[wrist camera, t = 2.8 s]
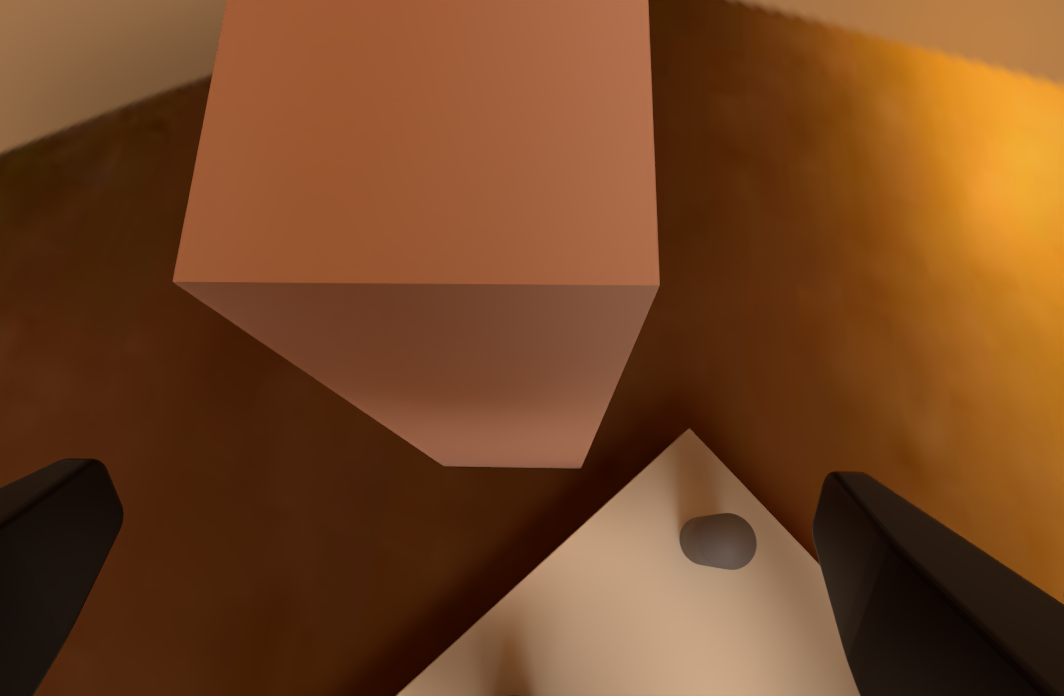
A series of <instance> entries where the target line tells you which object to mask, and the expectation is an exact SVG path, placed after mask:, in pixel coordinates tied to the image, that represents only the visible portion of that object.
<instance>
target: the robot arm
mask: <svg viewBox="0 0 1064 696" xmlns="http://www.w3.org/2000/svg"><path fill="white" fill-rule="evenodd" d="M122 522H123V507H122V504H121V502H120V499H119V497H118V495H117V492H116V490H115V487H114V485H113V483H112V480H111V478H110V475H109V473H108V470H107V468H106V467H105V465H104V464H103V463H102V462H100V461H99V460H96V459H75V458H70V459H63V460H60V461H57V462H55V463H53V464H51V465H49V466H46V467H44V468H42V469H40V470H38V471H36V472H34V473H31V474H29V475H27V476H25V477H23V478H21V479H19V480H17V481H14V482H12V483H10V484H8V485H6V486H4V487H2V488H0V696H33V695H34V694H35V692H36V690H37V689H38V687H39V685H40V684H41V682H42V680H43V679H44V677H45V675H46V674H47V672H48V670H49V669H50V667H51V665H52V664H53V662H54V660H55V659H56V657H57V655H58V653H59V652H60V650H61V648H62V646H63V645H64V643H65V641H66V639H67V637H68V635H69V633H70V631H71V630H72V628H73V626H74V624H75V622H76V620H77V618H78V616H79V614H80V611H81V609H82V607H83V605H84V603H85V601H86V599H87V597H88V595H89V593H90V591H91V589H92V587H93V585H94V582H95V580H96V578H97V576H98V574H99V572H100V570H101V568H102V566H103V564H104V562H105V560H106V558H107V556H108V553H109V551H110V549H111V547H112V545H113V543H114V541H115V539H116V537H117V535H118V533H119V531H120V528H121V526H122ZM812 534H813V541H814V545H815V548H816V552H817V556H818V559H819V563H820V567H821V570H822V574H823V578H824V581H825V585H826V589H827V592H828V596H829V600H830V603H831V607H832V610H833V614H834V618H835V621H836V625H837V629H838V632H839V636H840V640H841V643H842V646H843V650H844V653H845V656H846V660H847V662H848V665H849V668H850V671H851V673H852V676H853V679H854V682H855V684H856V687H857V689H858V692H859V694H860V696H1064V604H1062V603H1061V602H1059V601H1058V600H1056V599H1055V598H1053V597H1052V596H1050V595H1049V594H1047V593H1046V592H1044V591H1043V590H1041V589H1040V588H1038V587H1037V586H1035V585H1034V584H1032V583H1031V582H1029V581H1028V580H1026V579H1025V578H1023V577H1022V576H1020V575H1019V574H1017V573H1016V572H1014V571H1013V570H1011V569H1010V568H1008V567H1007V566H1005V565H1004V564H1002V563H1001V562H999V561H998V560H996V559H995V558H993V557H992V556H990V555H989V554H987V553H986V552H984V551H983V550H981V549H980V548H978V547H977V546H975V545H974V544H972V543H971V542H969V541H968V540H966V539H965V538H963V537H962V536H960V535H959V534H957V533H956V532H954V531H953V530H951V529H950V528H948V527H947V526H945V525H944V524H942V523H941V522H939V521H938V520H936V519H935V518H933V517H932V516H930V515H929V514H927V513H926V512H924V511H923V510H921V509H920V508H918V507H917V506H915V505H914V504H912V503H911V502H909V501H908V500H906V499H905V498H903V497H902V496H900V495H899V494H897V493H896V492H894V491H893V490H891V489H890V488H888V487H887V486H885V485H884V484H882V483H881V482H879V481H878V480H876V479H875V478H873V477H872V476H870V475H868V474H866V473H864V472H845V471H834V472H831V473H829V474H828V475H827V476H826V478H825V480H824V483H823V486H822V490H821V493H820V497H819V501H818V504H817V508H816V512H815V515H814V519H813V525H812Z"/></svg>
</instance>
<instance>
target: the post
mask: <svg viewBox="0 0 1064 696" xmlns="http://www.w3.org/2000/svg"><path fill="white" fill-rule="evenodd" d="M173 283H175V284H176V285H178V286H179V287H181V288H182V289H184V290H185V291H187V292H188V293H190V294H191V295H193V296H194V297H196V298H197V299H198V300H200V301H201V302H203V303H204V304H206V305H207V306H209V307H210V308H212V309H213V310H215V311H216V312H218V313H219V314H221V315H222V316H223V317H225V318H226V319H228V320H229V321H231V322H232V323H234V324H235V325H237V326H238V327H240V328H241V329H243V330H244V331H246V332H247V333H248V334H250V335H251V336H253V337H254V338H256V339H257V340H259V341H260V342H262V343H263V344H265V345H266V346H268V347H269V348H271V349H272V350H274V351H275V352H276V353H278V354H279V355H281V356H282V357H284V358H285V359H287V360H288V361H290V362H291V363H293V364H294V365H296V366H297V367H299V368H300V369H301V370H303V371H304V372H306V373H307V374H309V375H310V376H312V377H313V378H315V379H316V380H318V381H319V382H321V383H322V384H324V385H325V386H326V387H328V388H329V389H331V390H332V391H334V392H335V393H337V394H338V395H340V396H341V397H343V398H344V399H346V400H347V401H349V402H350V403H351V404H353V405H354V406H356V407H357V408H359V409H360V410H362V411H363V412H365V413H366V414H368V415H369V416H371V417H372V418H374V419H375V420H376V421H378V422H379V423H381V424H382V425H384V426H385V427H387V428H388V429H390V430H391V431H393V432H394V433H396V434H397V435H399V436H400V437H401V438H403V439H404V440H406V441H407V442H409V443H410V444H412V445H413V446H415V447H416V448H418V449H419V450H421V451H422V452H424V453H425V454H426V455H428V456H429V457H431V458H432V459H434V460H435V461H437V462H438V463H440V464H441V465H443V466H463V467H523V468H581V467H582V465H583V462H584V460H585V458H586V455H587V453H588V451H589V448H590V446H591V444H592V441H593V439H594V437H595V434H596V432H597V430H598V427H599V425H600V423H601V421H602V418H603V416H604V414H605V411H606V409H607V407H608V404H609V402H610V400H611V397H612V395H613V393H614V390H615V388H616V386H617V383H618V381H619V379H620V376H621V374H622V372H623V369H624V367H625V365H626V363H627V360H628V358H629V356H630V353H631V351H632V349H633V346H634V344H635V342H636V339H637V337H638V335H639V332H640V330H641V328H642V325H643V323H644V321H645V318H646V316H647V314H648V311H649V309H650V307H651V305H652V302H653V300H654V298H655V295H656V293H657V291H658V288H659V286H660V281H659V256H658V231H657V206H656V182H655V157H654V132H653V107H652V82H651V58H650V33H649V8H648V0H227V3H226V8H225V13H224V18H223V23H222V28H221V34H220V39H219V44H218V49H217V55H216V60H215V65H214V70H213V75H212V80H211V85H210V91H209V96H208V101H207V106H206V111H205V116H204V122H203V127H202V132H201V137H200V142H199V148H198V153H197V158H196V163H195V168H194V173H193V179H192V184H191V189H190V194H189V199H188V205H187V210H186V215H185V220H184V225H183V230H182V236H181V241H180V246H179V251H178V256H177V261H176V267H175V272H174V277H173Z"/></svg>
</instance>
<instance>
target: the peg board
mask: <svg viewBox="0 0 1064 696" xmlns="http://www.w3.org/2000/svg"><path fill="white" fill-rule="evenodd" d="M396 696H860V694H859V692H858V689H857V687H856V684H855V682H854V679H853V676H852V673H851V671H850V668H849V665H848V662H847V660H846V656H845V653H844V650H843V646H842V643H841V640H840V636H839V632H838V629H837V625H836V621H835V618H834V614H833V610H832V607H831V603H830V600H829V596H828V592H827V589H826V585H825V581H824V578H823V574H822V570H821V567H820V565H819V564H818V563H817V562H816V561H815V560H814V559H813V557H812V556H811V555H810V554H809V553H808V552H807V551H806V550H805V549H804V548H803V547H802V546H801V545H800V544H799V543H798V542H797V541H796V540H795V539H794V538H793V536H792V535H791V534H790V533H789V532H788V531H787V530H786V529H785V528H784V527H783V526H782V525H781V524H780V523H779V522H778V521H777V520H776V519H775V518H774V516H773V515H772V514H771V513H770V512H769V511H768V510H767V509H766V508H765V507H764V506H763V505H762V504H761V503H760V502H759V501H758V500H757V499H756V498H755V497H754V495H753V494H752V493H751V492H750V491H749V490H748V489H747V488H746V487H745V486H744V485H743V484H742V483H741V482H740V481H739V480H738V479H737V478H736V477H735V475H734V474H733V473H732V472H731V471H730V470H729V469H728V468H727V467H726V466H725V465H724V464H723V463H722V462H721V461H720V460H719V459H718V458H717V457H716V456H715V454H714V453H713V452H712V451H711V450H710V449H709V448H708V447H707V446H706V445H705V444H704V443H703V442H702V441H701V440H700V439H699V438H698V437H697V436H696V434H695V433H694V432H693V431H692V430H691V429H690V428H689V429H688V430H686V431H685V432H684V433H683V434H681V435H680V436H679V437H678V438H677V439H676V440H674V441H673V442H672V443H671V444H670V445H669V446H668V447H667V448H666V449H665V450H664V451H662V452H661V453H660V454H659V455H658V456H657V457H656V458H655V459H654V460H653V461H651V462H650V463H649V464H648V465H647V466H646V467H645V468H644V469H643V470H642V471H641V472H639V473H638V474H637V475H636V476H635V477H634V478H633V479H632V480H631V481H630V482H629V483H627V484H626V485H625V486H624V487H623V488H622V489H621V490H620V491H619V492H618V493H617V494H615V495H614V496H613V497H612V498H611V499H610V500H609V501H608V502H607V503H606V504H604V505H603V506H602V507H601V508H600V509H599V510H598V511H597V512H596V513H595V514H594V515H592V516H591V517H590V518H589V519H588V520H587V521H586V522H585V523H584V524H583V525H582V526H580V527H579V528H578V529H577V530H576V531H575V532H574V533H573V534H572V535H571V536H570V537H568V538H567V539H566V540H565V541H564V542H563V543H562V544H561V545H560V546H559V547H558V548H556V549H555V550H554V551H553V552H552V553H551V554H550V555H549V556H548V557H547V558H545V559H544V560H543V561H542V562H541V563H540V564H539V565H538V566H537V567H536V568H535V569H533V570H532V571H531V572H530V573H529V574H528V575H527V576H526V577H525V578H524V579H523V580H521V581H520V582H519V583H518V584H517V585H516V586H515V587H514V588H513V589H512V590H511V591H509V592H508V593H507V594H506V595H505V596H504V597H503V598H502V599H501V600H500V601H498V602H497V603H496V604H495V605H494V606H493V607H492V608H491V609H490V610H489V611H488V612H486V613H485V614H484V615H483V616H482V617H481V618H480V619H479V620H478V621H477V622H476V623H474V624H473V625H472V626H471V627H470V628H469V629H468V630H467V631H466V632H465V633H464V634H462V635H461V636H460V637H459V638H458V639H457V640H456V641H455V642H454V643H453V644H452V645H450V646H449V647H448V648H447V649H446V650H445V651H444V652H443V653H442V654H441V655H439V656H438V657H437V658H436V659H435V660H434V661H433V662H432V663H431V664H430V665H429V666H427V667H426V668H425V669H424V670H423V671H422V672H421V673H420V674H419V675H418V676H417V677H415V678H414V679H413V680H412V681H411V682H410V683H409V684H408V685H407V686H406V687H405V688H403V689H402V690H401V691H400V692H399V693H398V694H397V695H396Z"/></svg>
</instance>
